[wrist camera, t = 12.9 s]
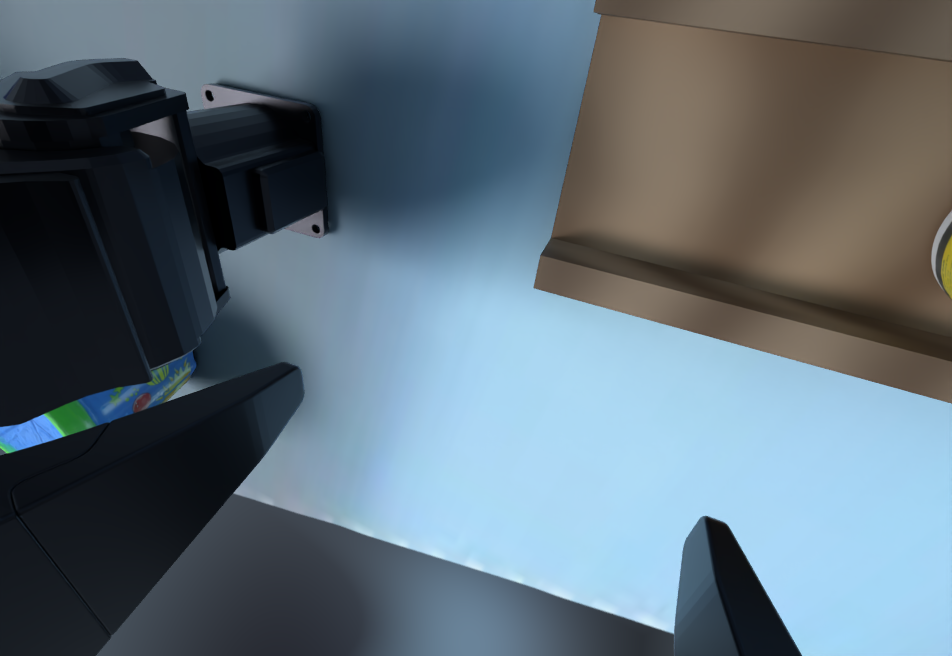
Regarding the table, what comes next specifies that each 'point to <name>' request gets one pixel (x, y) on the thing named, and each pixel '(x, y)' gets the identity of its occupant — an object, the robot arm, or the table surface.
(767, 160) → the walnut track
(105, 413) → the snack cup
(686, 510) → the table surface
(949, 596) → the table surface
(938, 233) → the supplement bottle
